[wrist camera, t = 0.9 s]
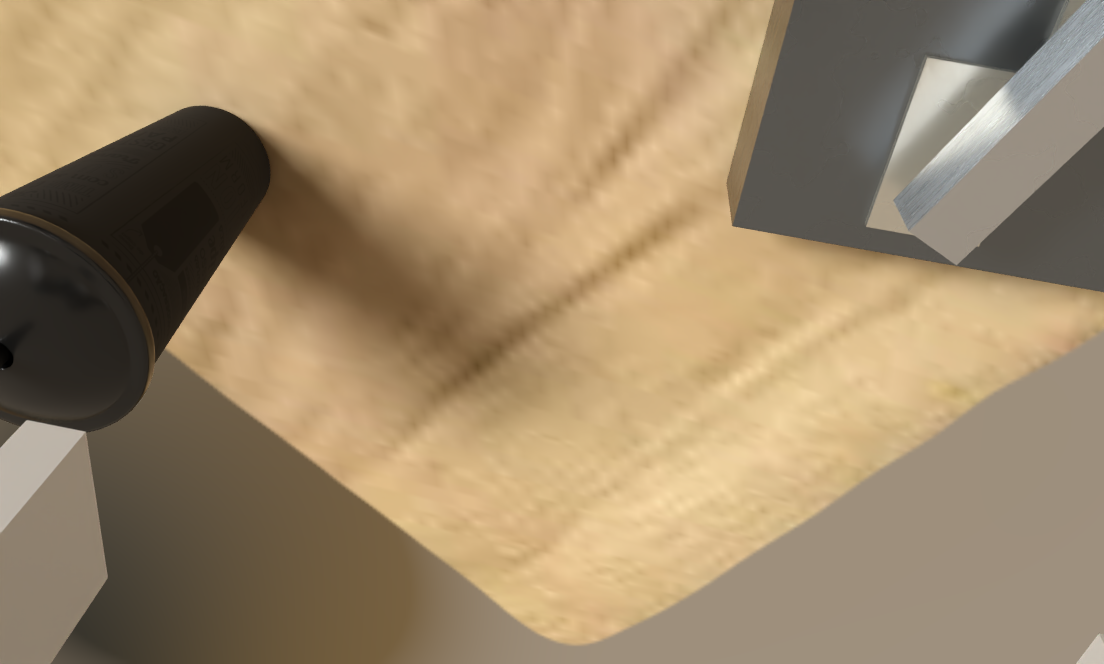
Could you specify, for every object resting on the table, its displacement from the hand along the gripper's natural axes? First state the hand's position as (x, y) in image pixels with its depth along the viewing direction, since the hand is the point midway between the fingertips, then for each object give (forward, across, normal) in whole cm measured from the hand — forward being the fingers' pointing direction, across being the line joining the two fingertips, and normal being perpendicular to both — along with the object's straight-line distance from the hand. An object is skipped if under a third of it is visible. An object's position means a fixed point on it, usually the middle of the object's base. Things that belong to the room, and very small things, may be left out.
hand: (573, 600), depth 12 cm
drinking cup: (+26, -16, -8) cm, 32 cm away
